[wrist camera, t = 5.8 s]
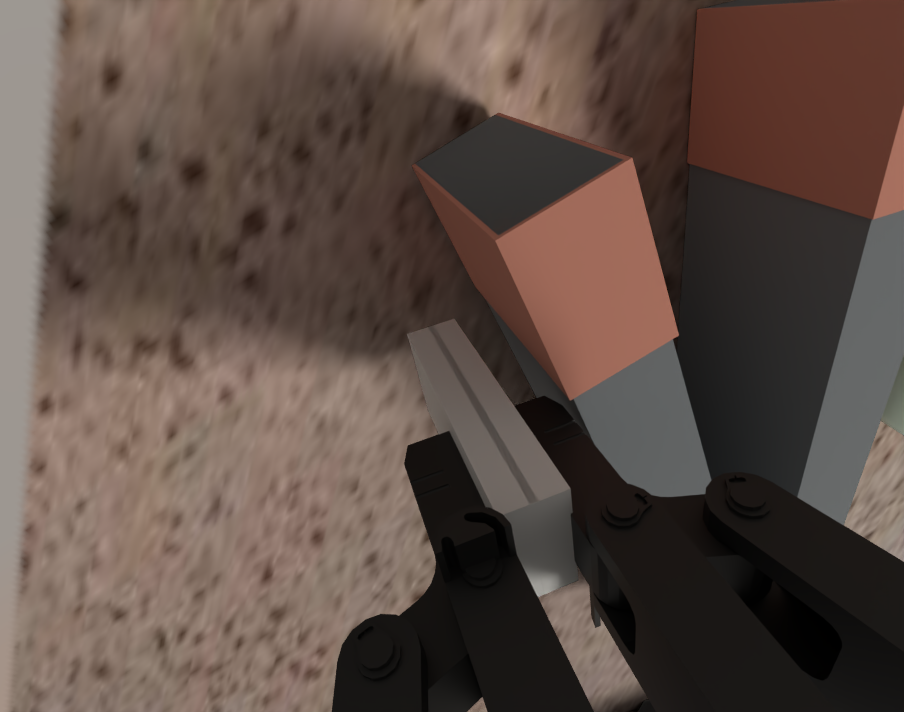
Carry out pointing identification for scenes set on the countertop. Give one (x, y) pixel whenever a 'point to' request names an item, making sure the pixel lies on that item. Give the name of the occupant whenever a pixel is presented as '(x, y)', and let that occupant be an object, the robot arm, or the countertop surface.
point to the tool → (646, 707)
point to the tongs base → (794, 239)
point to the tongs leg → (574, 288)
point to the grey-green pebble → (896, 403)
